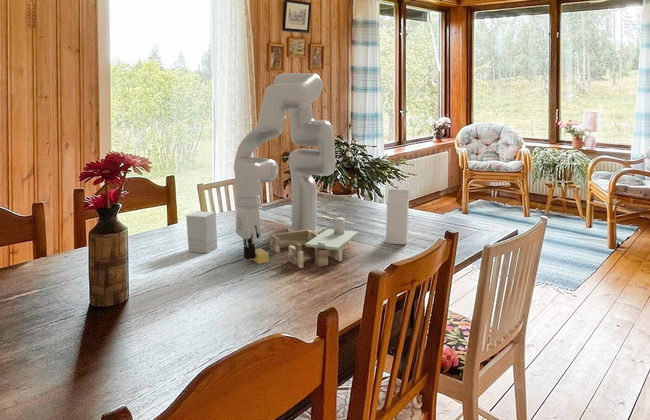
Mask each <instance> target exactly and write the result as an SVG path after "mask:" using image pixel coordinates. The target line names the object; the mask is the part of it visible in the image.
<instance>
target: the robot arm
mask: <svg viewBox="0 0 650 420" xmlns="http://www.w3.org/2000/svg"><path fill="white" fill-rule="evenodd" d="M322 91H323V80H322V78H321V77H320V76H319V75H318V74H317V73H311V72H309V73H303V72H297V73H296V72H291V73H290V72H288V73H287V72H285V73H280V74H277V75H276V76H275V77H274V78H273V84H271V85H269V86H267V88H266V89H265V91H264V96H263V99H262V104H261V107H260V112H259V117H258V119H257V124H256V125H255V127H254V128H252V129H251V130H250V131H249V132H248V133H247V134H246V136H244V138H242V140H241V142H240V144H239V145H238V147H237V150H236V153H235V158H234V163H233V172H234V173H233V174H234V186H235V187H234V188H235V192H234V194H235V207H236V212H235V233H236V235H238V236H239V237H240V238H242V245H243V258H244V259H245V260H252V259H254V258H255V249H256V244H258V239H260V238H261V217H260V207H261V183H271V182H274V180H276V178H277V177H278V175H279V171H280V170H279V165H278V163H277V162H276V161H275V160H274V159H271V158H265V157H264V158H263V157H254V156H253V157H252V154H253V152H254V151H255V150H256V148H258V147H259V146H260V145H262V144H264V143H266V142H267V141H271V140H272V139H274V138H277V137H279V136H280V135H282V133H283V130H284V127H285V123H286V119H287V113H288V119H289V128H290V130H289V131H290V138H291V139H290V140H291V142H292V143H293V144H294V145H295V146H299V147H300V146H301V147H316V148H317V147H318V148H317V149H315V148H297V149H293V150H292V151H291V152H290V153H289V155H288V168H289V174H290V177H291V178H290V179H291V218H290V221H291V225H290V226H289V227H288V228H287V232H293V231H301V230H308V229H309V230H311V231H314V232H316V233H318V234H319V233H320V234H321V233H322V228H321V227H320V226H318V193H317V192H318V186H317V183H316V181H315V179H314V177H313V176H319V177H320V176H323V177H326V176H327V177H328V176H331V175H332V174H334V172H335V168H336V146H335V145H336V144H335V130H334V127H333V124H331V123H330V121H327V120H324V119H323V120H322V119H315V118H314V114H313V107H312V104H313V103H314V102H315V101H316V100H317V99H318V98H319V97H320V96H321V94H322Z"/></svg>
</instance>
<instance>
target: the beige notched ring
mask: <svg viewBox="0 0 650 420" xmlns="http://www.w3.org/2000/svg"><path fill="white" fill-rule="evenodd" d="M318 235H319V233H316V232H314V231H311V230H309V229H308V230H301V231H293V232H288V231H287V232H280V233H273V234H269V249H270V250H271V251H273V252H275V253H277V254H278V253H280V251H281V249H284V248H288V261H289V263H291V264H293V265H294V266H296V267H298V268H299V269H303V268H304V251H303V246H305V244H306V243H307V242H309V241H310V240H312V239H313V238H315V237H316V236H318ZM313 248H314V265H317V266H318V267H320V268H321V267H325V266H328V265H329V257H330V258H332V259H333V260H335V261H338V262H343V247H341V248H340V249H339V250H333V249H324V248H316V247H313Z"/></svg>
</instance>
